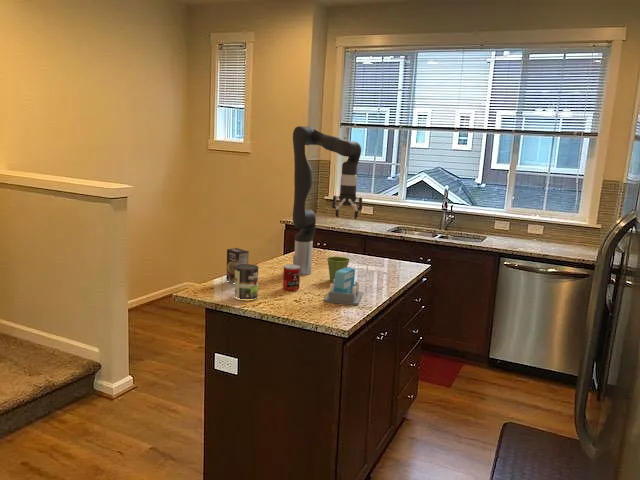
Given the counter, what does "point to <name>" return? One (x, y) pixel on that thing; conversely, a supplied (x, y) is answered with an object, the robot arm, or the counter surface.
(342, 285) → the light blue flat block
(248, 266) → the coffee can
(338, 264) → the plant pot
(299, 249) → the robot arm
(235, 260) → the coffee box
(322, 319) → the counter surface
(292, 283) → the canned food
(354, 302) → the tray
